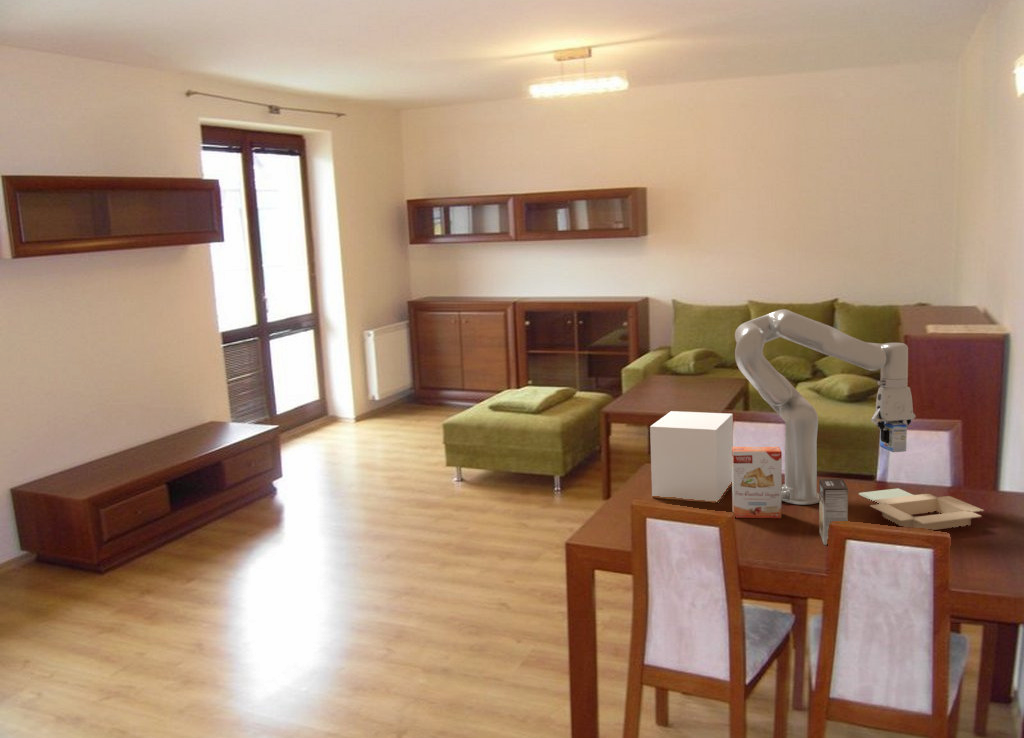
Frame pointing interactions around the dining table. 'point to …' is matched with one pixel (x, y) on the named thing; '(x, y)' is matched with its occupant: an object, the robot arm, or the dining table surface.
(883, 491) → the sage board
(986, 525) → the dining table surface
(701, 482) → the cube
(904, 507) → the carton
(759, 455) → the cracker box
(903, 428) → the medicine box
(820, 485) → the coffee box
